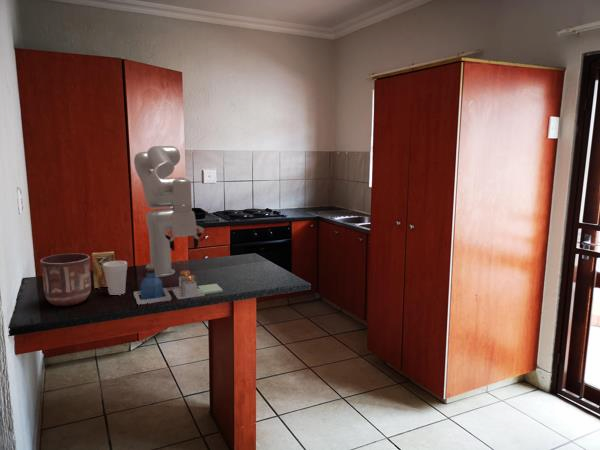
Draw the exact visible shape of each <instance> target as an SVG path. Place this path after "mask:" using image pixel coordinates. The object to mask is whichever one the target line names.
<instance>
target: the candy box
mask: <svg viewBox="0 0 600 450" xmlns="http://www.w3.org/2000/svg"><path fill="white" fill-rule="evenodd" d="M91 259H92V260H91V261H92V273H93V286H94V287H93V288H94V289H95V288H98V289H100V288H99V287H107V283H106V278H105V273H104V271H103V264H104V263H106V262H111V261H116V259H115V251H103V252H92V254H91Z"/></svg>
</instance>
